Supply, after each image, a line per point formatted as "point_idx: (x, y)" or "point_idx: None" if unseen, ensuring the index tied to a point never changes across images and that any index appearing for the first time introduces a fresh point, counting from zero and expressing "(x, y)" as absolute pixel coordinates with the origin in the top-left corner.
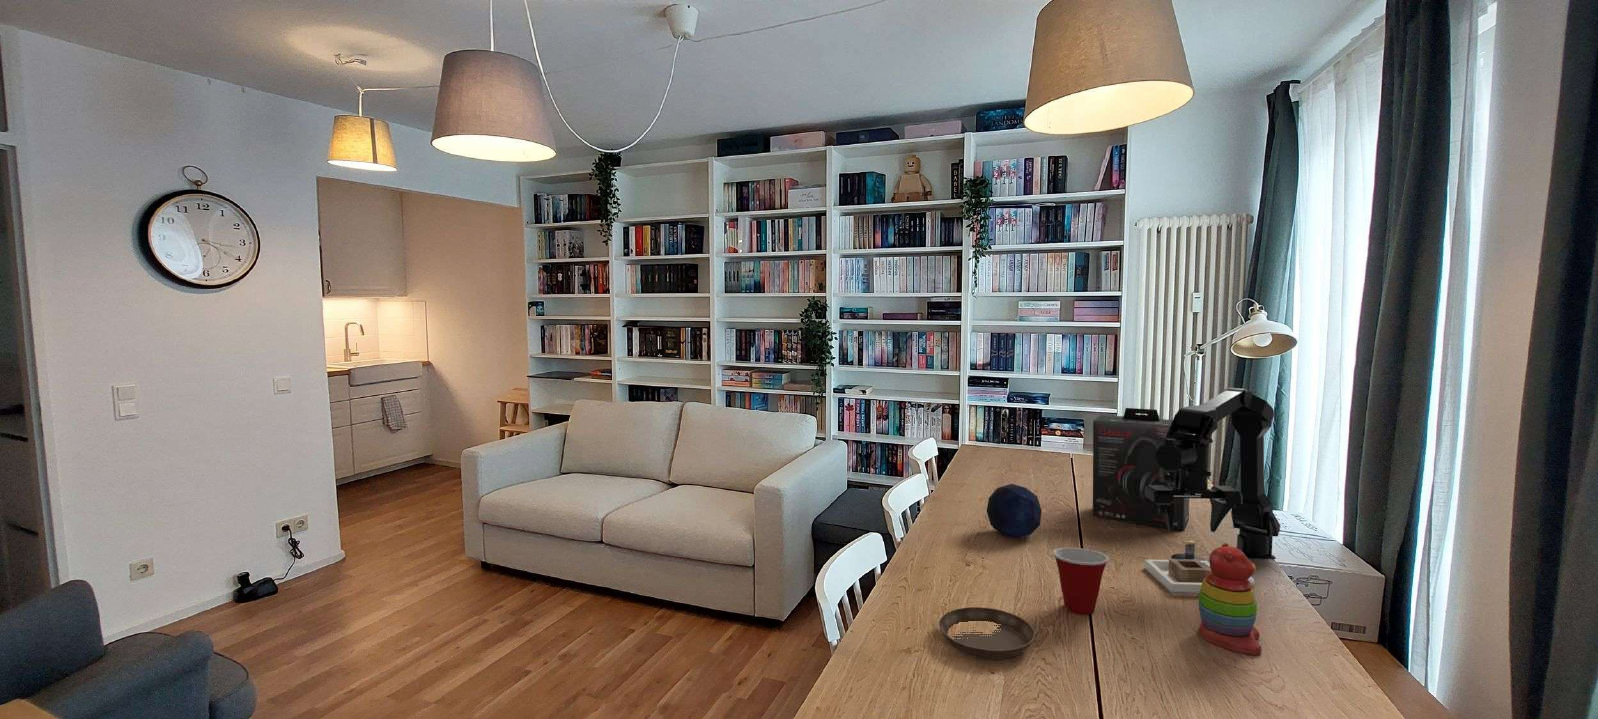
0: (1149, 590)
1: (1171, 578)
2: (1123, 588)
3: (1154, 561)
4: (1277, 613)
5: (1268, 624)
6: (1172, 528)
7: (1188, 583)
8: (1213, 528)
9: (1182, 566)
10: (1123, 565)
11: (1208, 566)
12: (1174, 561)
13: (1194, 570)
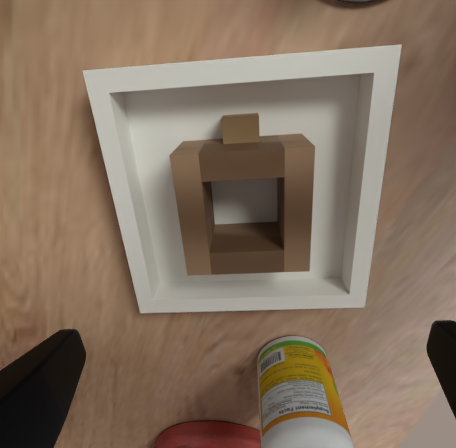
0: (91, 269)
1: None
2: (15, 263)
3: (125, 90)
4: (386, 365)
5: None
6: (73, 392)
7: (196, 306)
8: (443, 390)
9: (202, 242)
10: (15, 32)
11: (367, 118)
12: (185, 188)
13: (237, 272)
